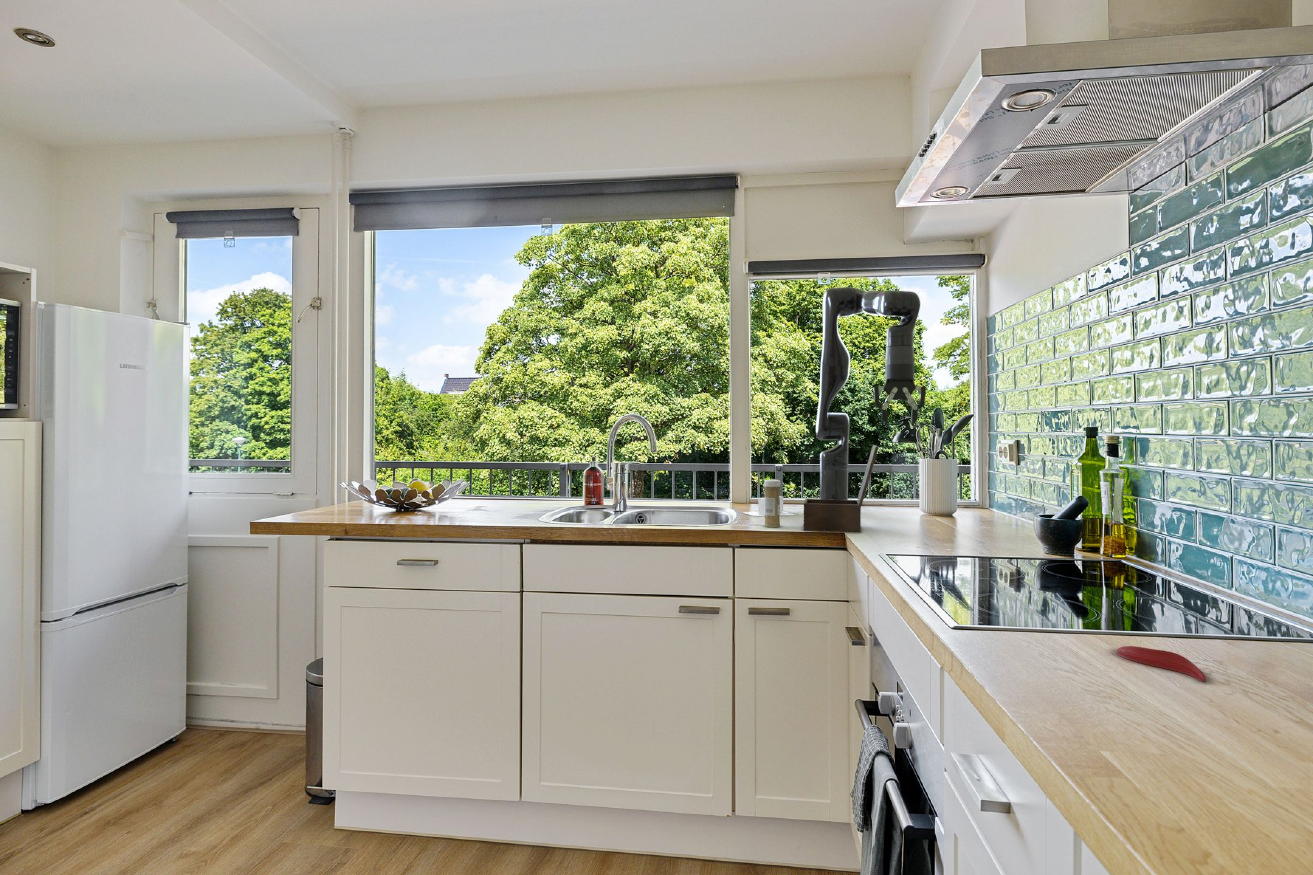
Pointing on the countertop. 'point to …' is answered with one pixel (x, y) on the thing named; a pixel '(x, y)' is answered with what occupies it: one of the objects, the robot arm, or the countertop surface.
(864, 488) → the chest lid
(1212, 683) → the countertop surface
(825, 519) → the chest
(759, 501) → the napkin holder
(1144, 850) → the countertop surface
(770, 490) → the sprinkles bottle
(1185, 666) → the cayenne pepper
